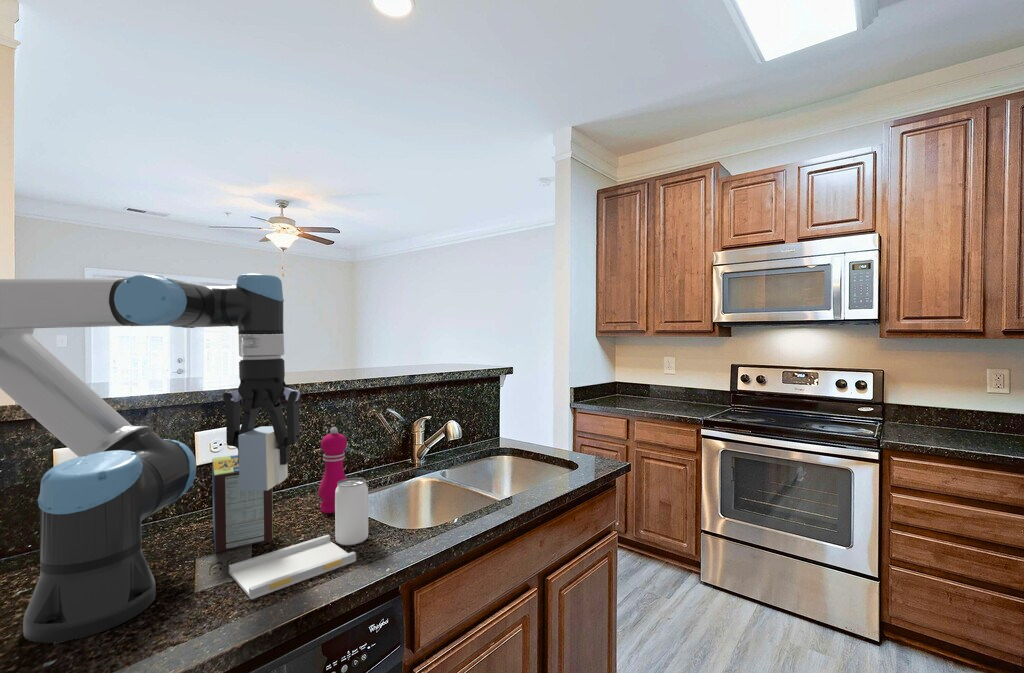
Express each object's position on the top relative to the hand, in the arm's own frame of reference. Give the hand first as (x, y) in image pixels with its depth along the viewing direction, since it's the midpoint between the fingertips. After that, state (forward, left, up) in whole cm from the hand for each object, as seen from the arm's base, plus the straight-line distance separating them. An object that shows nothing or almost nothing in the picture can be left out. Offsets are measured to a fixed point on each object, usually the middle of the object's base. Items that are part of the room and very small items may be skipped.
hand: (264, 482), depth 89 cm
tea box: (0, 0, 0) cm, 0 cm away
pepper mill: (+21, +17, -15) cm, 31 cm away
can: (+16, -2, -15) cm, 22 cm away
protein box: (+1, +18, -15) cm, 23 cm away
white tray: (+3, -6, -15) cm, 16 cm away
